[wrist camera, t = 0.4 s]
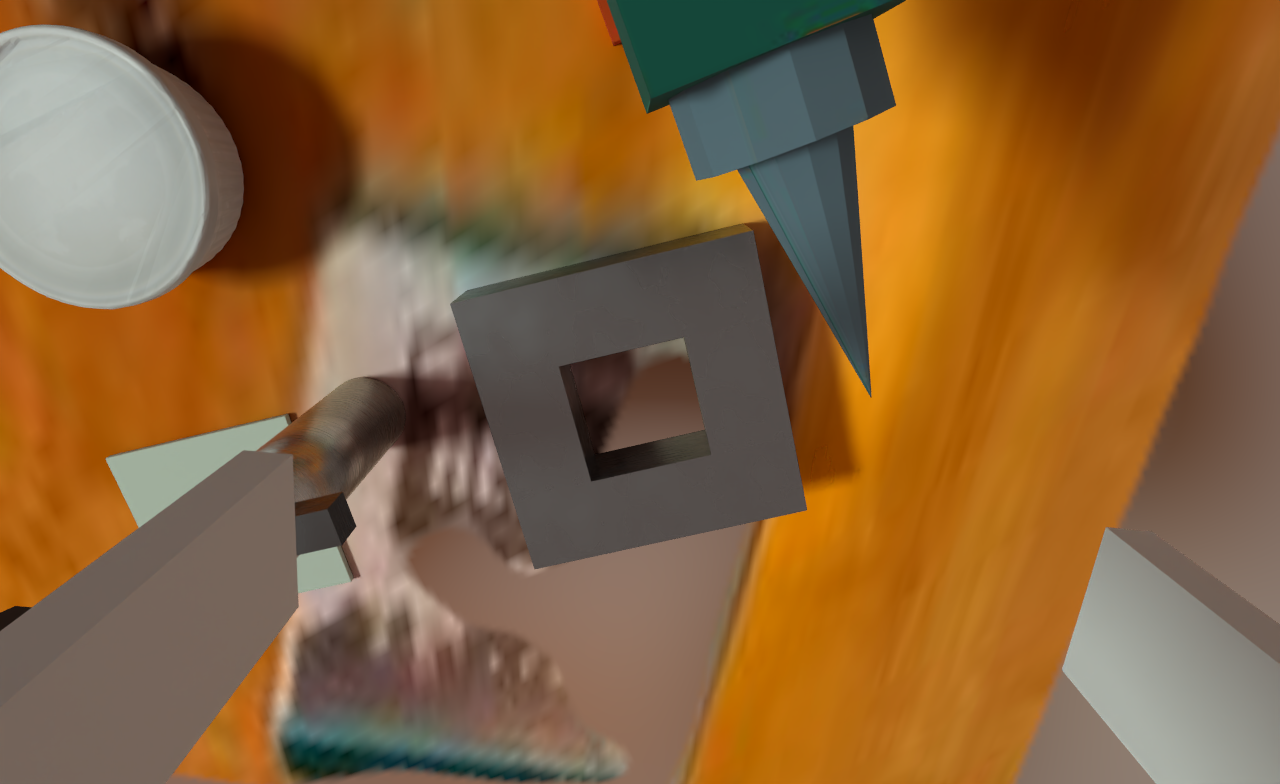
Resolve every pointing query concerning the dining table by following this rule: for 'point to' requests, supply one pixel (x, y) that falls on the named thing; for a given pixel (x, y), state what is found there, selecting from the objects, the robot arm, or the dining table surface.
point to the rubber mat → (186, 462)
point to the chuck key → (336, 456)
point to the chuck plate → (615, 322)
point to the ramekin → (107, 170)
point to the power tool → (774, 119)
